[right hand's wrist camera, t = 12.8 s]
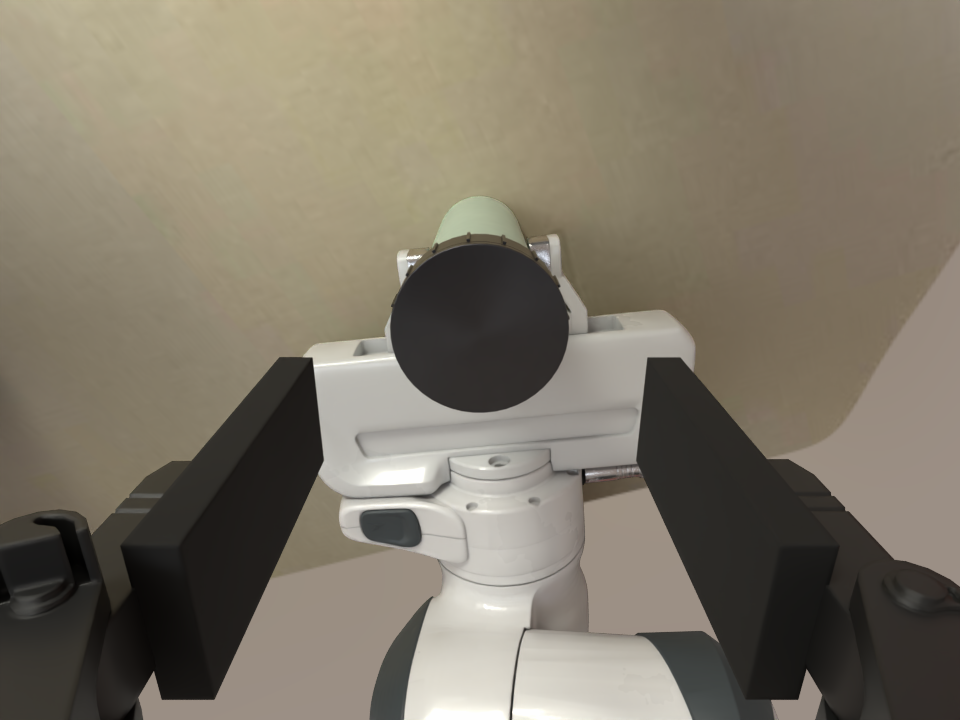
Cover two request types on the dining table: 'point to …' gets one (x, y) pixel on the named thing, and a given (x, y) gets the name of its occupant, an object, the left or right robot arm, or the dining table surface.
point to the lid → (479, 323)
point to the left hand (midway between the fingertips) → (477, 243)
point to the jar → (480, 220)
